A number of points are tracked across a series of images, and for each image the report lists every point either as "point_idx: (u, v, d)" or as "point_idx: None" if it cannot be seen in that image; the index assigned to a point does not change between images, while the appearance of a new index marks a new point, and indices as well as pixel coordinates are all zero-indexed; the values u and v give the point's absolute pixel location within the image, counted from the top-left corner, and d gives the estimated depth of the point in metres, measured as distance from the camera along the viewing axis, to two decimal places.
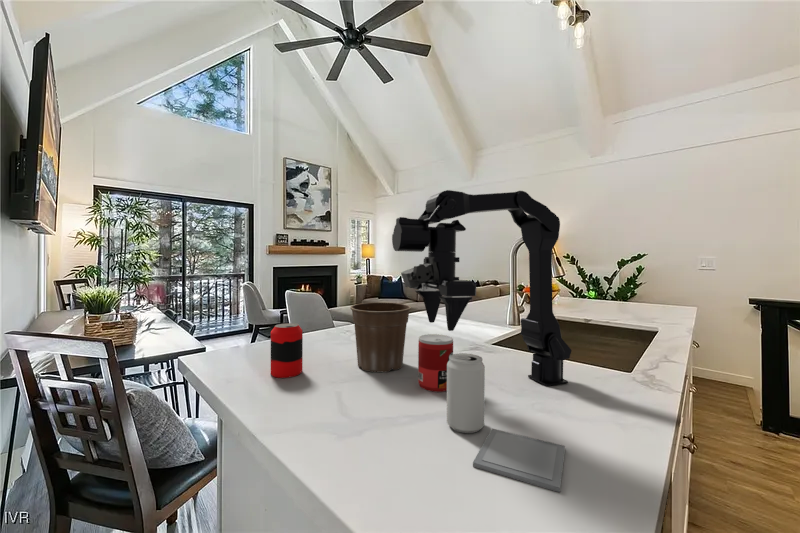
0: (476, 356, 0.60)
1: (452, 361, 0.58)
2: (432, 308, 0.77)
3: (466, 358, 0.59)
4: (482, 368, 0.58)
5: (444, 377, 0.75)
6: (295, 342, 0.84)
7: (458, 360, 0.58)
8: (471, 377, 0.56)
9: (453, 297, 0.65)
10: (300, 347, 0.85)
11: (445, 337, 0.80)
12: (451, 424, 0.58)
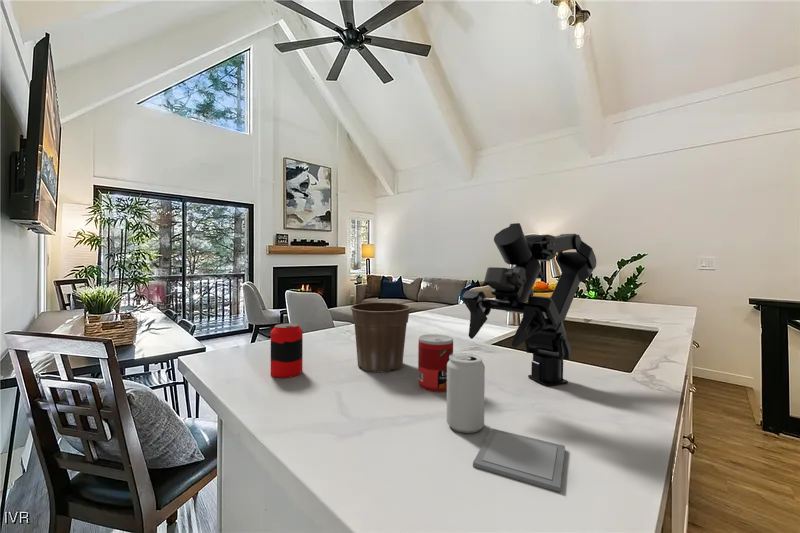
0: (476, 356, 0.60)
1: (452, 361, 0.58)
2: (476, 325, 0.70)
3: (466, 358, 0.59)
4: (482, 368, 0.58)
5: (444, 377, 0.75)
6: (295, 342, 0.84)
7: (458, 360, 0.58)
8: (471, 377, 0.56)
9: (542, 313, 0.62)
10: (300, 347, 0.85)
11: (445, 337, 0.80)
12: (451, 424, 0.58)
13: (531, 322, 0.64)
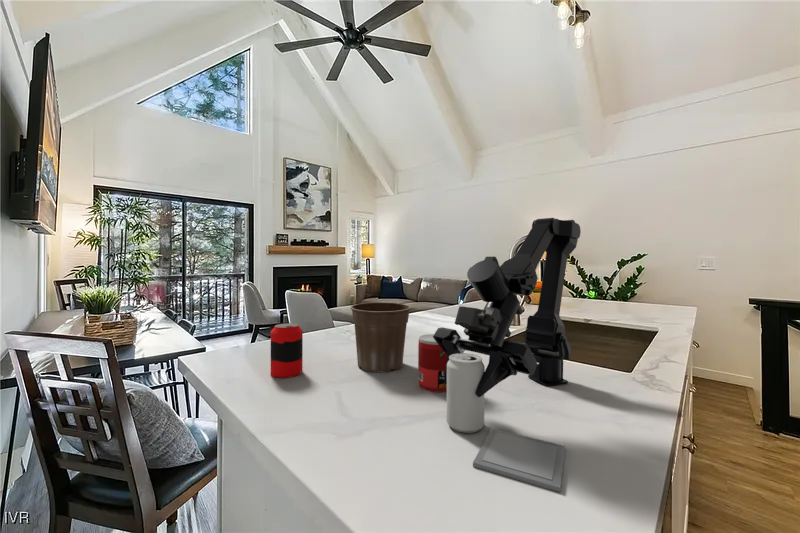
0: (476, 356, 0.60)
1: (452, 361, 0.58)
2: None
3: (466, 358, 0.59)
4: (482, 368, 0.58)
5: (444, 377, 0.75)
6: (295, 342, 0.84)
7: (458, 360, 0.58)
8: (471, 377, 0.56)
9: (509, 359, 0.56)
10: (300, 347, 0.85)
11: None
12: (451, 424, 0.58)
13: (498, 368, 0.58)
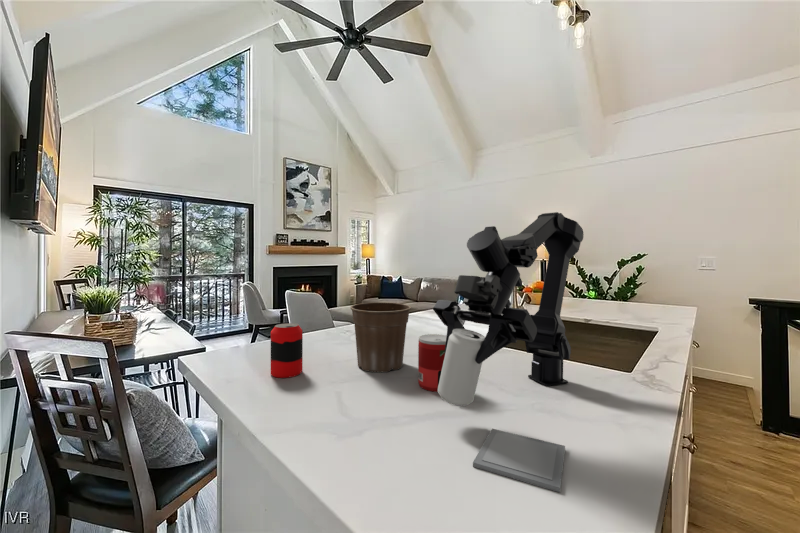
0: (479, 335, 0.60)
1: (455, 335, 0.58)
2: None
3: (469, 335, 0.59)
4: None
5: None
6: (295, 342, 0.84)
7: (461, 336, 0.58)
8: (471, 354, 0.56)
9: (508, 326, 0.56)
10: (300, 347, 0.85)
11: (445, 337, 0.80)
12: (442, 394, 0.59)
13: (498, 335, 0.58)
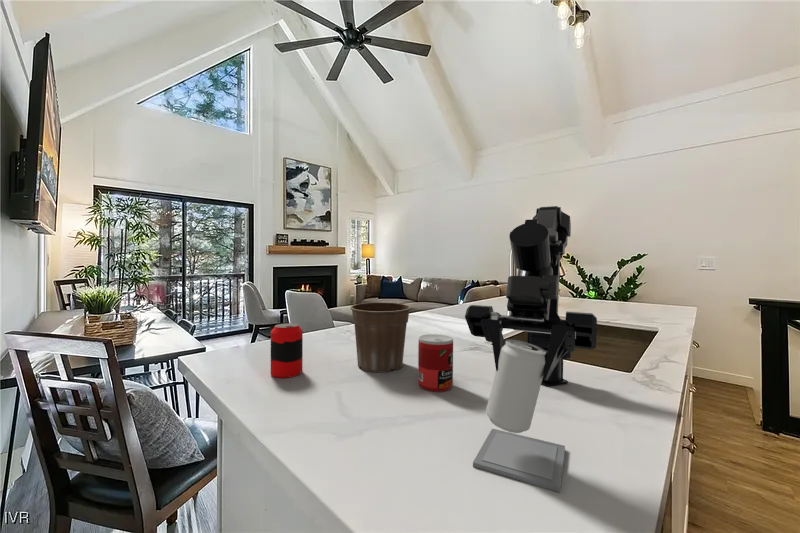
0: (532, 345, 0.52)
1: (516, 349, 0.48)
2: None
3: (527, 347, 0.50)
4: None
5: (444, 377, 0.75)
6: (295, 342, 0.84)
7: (523, 349, 0.48)
8: (538, 370, 0.47)
9: None
10: (300, 347, 0.85)
11: (445, 337, 0.80)
12: (500, 422, 0.48)
13: None
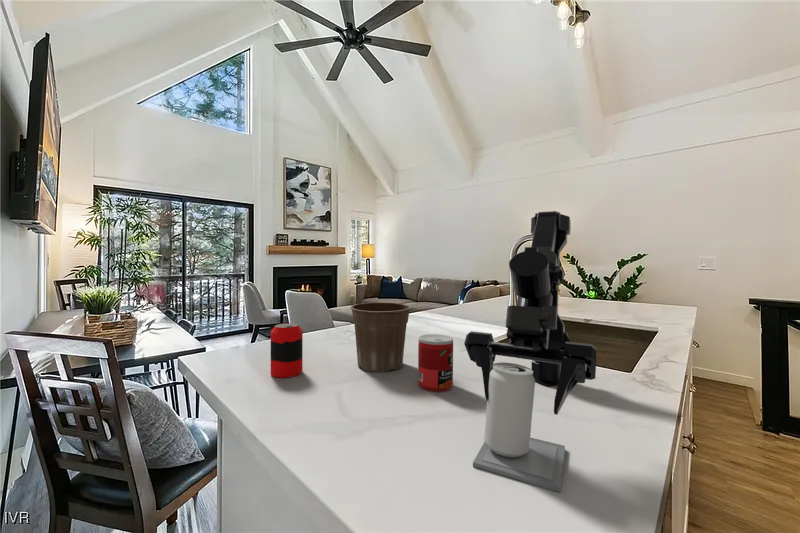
0: (520, 366, 0.52)
1: (503, 373, 0.49)
2: None
3: (514, 369, 0.51)
4: (534, 380, 0.50)
5: (444, 377, 0.75)
6: (295, 342, 0.84)
7: (510, 372, 0.49)
8: (527, 392, 0.48)
9: None
10: (300, 347, 0.85)
11: (445, 337, 0.80)
12: (498, 448, 0.49)
13: None
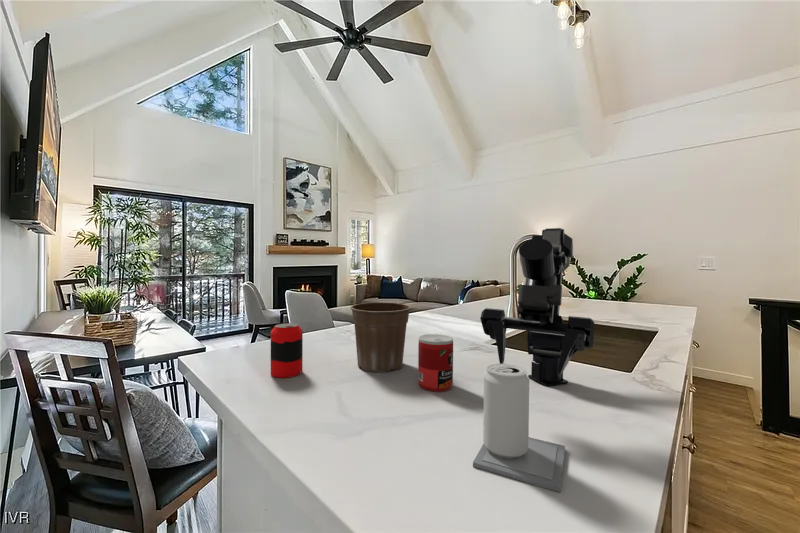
0: (514, 366, 0.52)
1: (496, 375, 0.49)
2: (503, 349, 0.62)
3: (507, 370, 0.51)
4: (528, 380, 0.50)
5: (444, 377, 0.75)
6: (295, 342, 0.84)
7: (503, 373, 0.49)
8: (521, 393, 0.48)
9: None
10: (300, 347, 0.85)
11: (445, 337, 0.80)
12: (495, 450, 0.49)
13: None
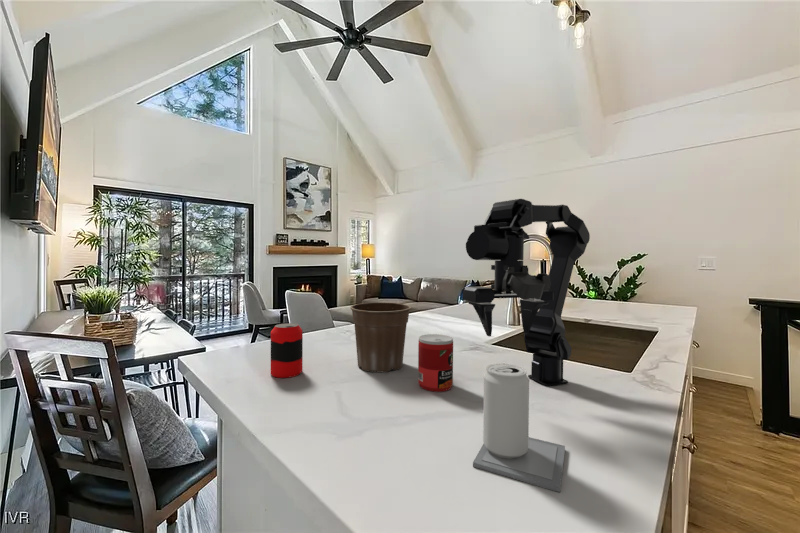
0: (514, 366, 0.52)
1: (495, 375, 0.49)
2: None
3: (507, 370, 0.51)
4: (528, 380, 0.50)
5: (444, 377, 0.75)
6: (295, 342, 0.84)
7: (502, 373, 0.49)
8: (521, 393, 0.48)
9: None
10: (300, 347, 0.85)
11: (445, 337, 0.80)
12: (495, 450, 0.49)
13: None
